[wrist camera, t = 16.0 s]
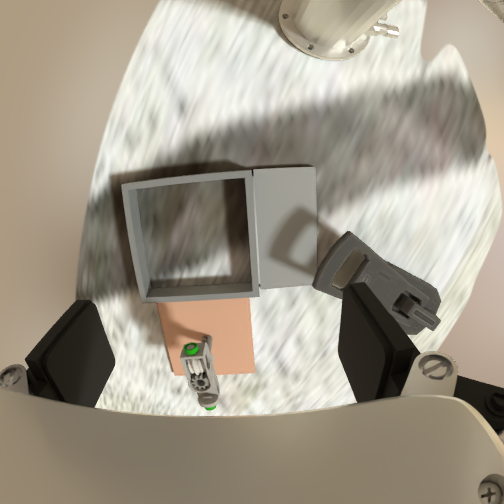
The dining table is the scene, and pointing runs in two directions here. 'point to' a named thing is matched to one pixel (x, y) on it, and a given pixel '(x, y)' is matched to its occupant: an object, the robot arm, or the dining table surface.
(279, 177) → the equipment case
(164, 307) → the rubber mat
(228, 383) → the dining table surface
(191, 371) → the mechanical component
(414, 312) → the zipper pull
